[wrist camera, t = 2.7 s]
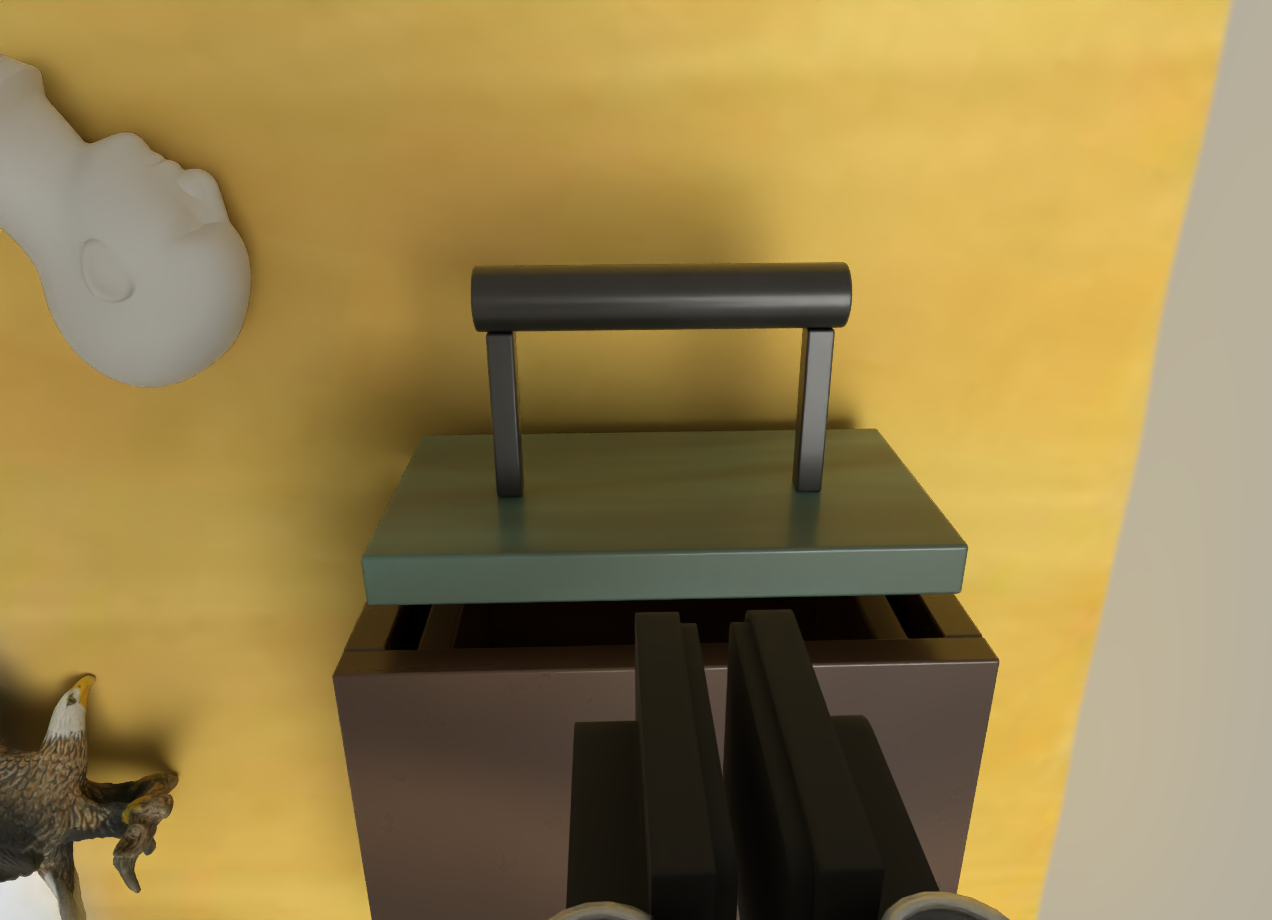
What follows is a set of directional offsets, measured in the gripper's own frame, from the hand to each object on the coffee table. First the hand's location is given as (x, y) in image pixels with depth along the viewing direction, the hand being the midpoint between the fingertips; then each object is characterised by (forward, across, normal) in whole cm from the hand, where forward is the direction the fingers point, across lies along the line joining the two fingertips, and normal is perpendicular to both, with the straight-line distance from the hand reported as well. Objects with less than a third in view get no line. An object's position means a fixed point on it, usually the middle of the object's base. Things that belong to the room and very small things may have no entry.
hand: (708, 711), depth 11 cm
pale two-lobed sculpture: (+15, +13, -4) cm, 21 cm away
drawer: (+14, 0, +6) cm, 16 cm away
